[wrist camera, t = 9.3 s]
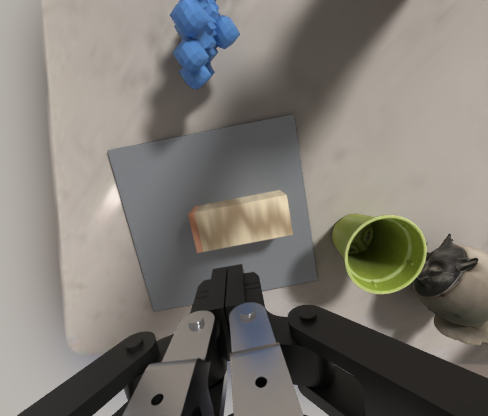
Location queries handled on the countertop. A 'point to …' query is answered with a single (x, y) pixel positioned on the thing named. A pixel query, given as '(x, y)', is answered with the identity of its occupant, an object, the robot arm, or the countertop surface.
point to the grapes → (200, 38)
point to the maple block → (240, 221)
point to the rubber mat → (210, 191)
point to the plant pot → (380, 251)
